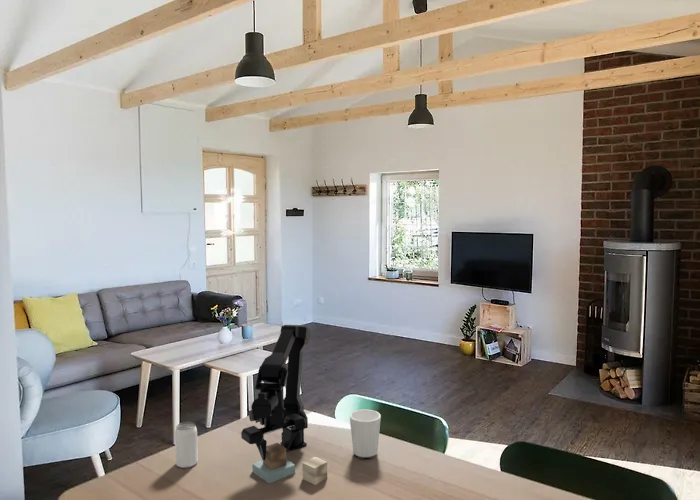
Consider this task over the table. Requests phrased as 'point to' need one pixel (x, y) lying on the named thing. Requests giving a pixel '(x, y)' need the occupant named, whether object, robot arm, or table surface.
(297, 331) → the robot arm
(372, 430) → the cup
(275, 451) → the walnut cube
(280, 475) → the base block
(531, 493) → the table surface
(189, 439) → the can
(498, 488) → the table surface
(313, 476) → the beech cube
